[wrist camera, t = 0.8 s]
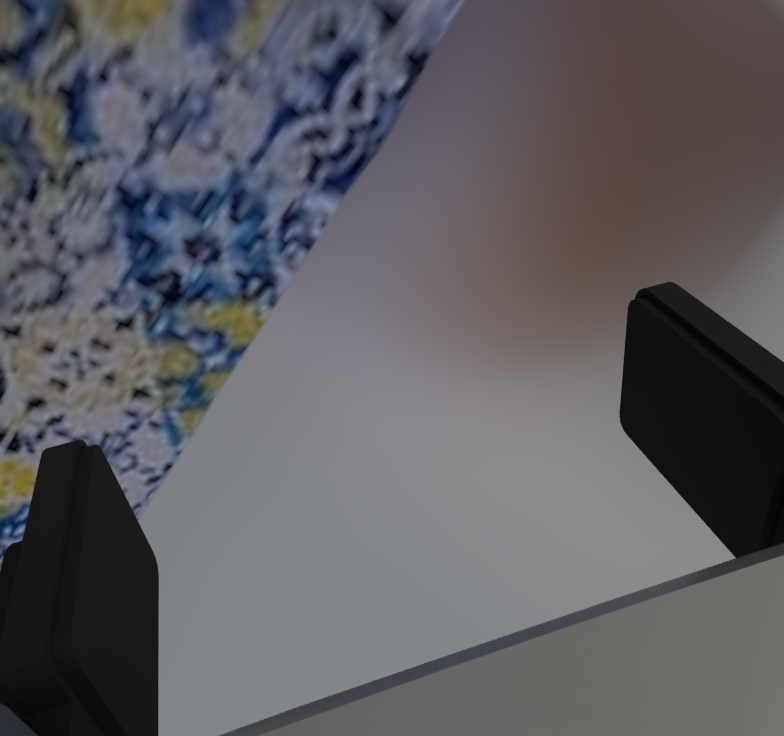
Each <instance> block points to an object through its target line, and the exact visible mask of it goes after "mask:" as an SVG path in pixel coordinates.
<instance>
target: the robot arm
mask: <svg viewBox="0 0 784 736" xmlns="http://www.w3.org/2000/svg"><path fill="white" fill-rule="evenodd" d="M622 379H623V380H622V391H621V404H620V422H621V425H622V427H623V429H624V431H625V432H626V434H627V435H628V437H629V438H630V439H631V440H632V441H633V442H634V443H635V444H636V446H637V447H638V448H639V449H640V450H641V451H642V452H643V453H644V454H645V456H646V457H647V458H648V459H649V460H650V461H651V462H652V464H653V465H654V466H655V467H656V468H657V469H658V470H659V472H660V473H661V474H662V475H663V476H664V477H665V478H666V479H667V480H668V482H669V483H670V484H671V485H672V486H673V487H674V488H675V490H676V491H677V492H678V493H679V494H680V495H681V496H682V497H683V499H684V500H685V501H686V502H687V503H688V504H689V505H690V506H691V508H692V509H694V511H695V512H696V513H697V514H698V515H699V517H700V518H701V519H702V520H703V521H704V522H705V523H706V525H707V526H708V527H709V528H710V529H711V530H712V531H713V532H714V534H715V535H716V536H717V537H718V538H719V539H720V540H721V541H722V543H723V544H724V545H725V546H726V547H727V548H728V549H729V550H730V552H731V553H732V554H733V555H734V556H735V557H736V559H733V560H730V561H727V562H724V563H721V564H718V565H715V566H712V567H709V568H706V569H703V570H700V571H697V572H694V573H691V574H688V575H685V576H682V577H679V578H676V579H673V580H670V581H667V582H664V583H661V584H658V585H655V586H652V587H649V588H646V589H643V590H640V591H637V592H634V593H631V594H628V595H625V596H622V597H619V598H616V599H613V600H610V601H607V602H604V603H601V604H598V605H595V606H592V607H589V608H586V609H583V610H580V611H577V612H574V613H571V614H568V615H566V616H562V617H559V618H557V619H554V620H551V621H548V622H545V623H542V624H539V625H536V626H533V627H530V628H527V629H524V630H521V631H518V632H515V633H512V634H509V635H507V636H503V637H500V638H498V639H495V640H492V641H489V642H486V643H483V644H480V645H477V646H474V647H471V648H468V649H465V650H462V651H459V652H456V653H453V654H451V655H448V656H445V657H442V658H439V659H436V660H433V661H430V662H427V663H424V664H422V665H418V666H416V667H413V668H410V669H407V670H404V671H401V672H398V673H395V674H392V675H389V676H387V677H384V678H381V679H378V680H375V681H372V682H369V683H366V684H363V685H361V686H358V687H355V688H352V689H349V690H346V691H343V692H340V693H337V694H334V695H332V696H328V697H326V698H323V699H320V700H317V701H314V702H311V703H308V704H305V705H302V706H299V707H297V708H294V709H291V710H288V711H285V712H283V713H280V714H277V715H274V716H272V717H269V718H266V719H264V720H261V721H258V722H255V723H252V724H249V725H247V726H244V727H241V728H238V729H236V730H233V731H230V732H228V733H225V734H222V735H219V736H784V362H783V361H781V360H780V359H778V358H777V357H776V356H774V355H773V354H772V353H770V352H769V351H768V350H766V349H765V348H763V347H762V346H761V345H759V344H758V343H757V342H755V341H754V340H752V339H751V338H750V337H748V336H747V335H746V334H744V333H743V332H741V331H740V330H739V329H737V328H736V327H735V326H733V325H732V324H731V323H729V322H727V321H726V320H725V319H723V318H722V317H721V316H720V315H718V314H717V313H715V312H714V311H712V310H711V309H710V308H708V307H707V306H706V305H704V304H703V303H702V302H700V301H699V300H698V299H696V298H695V297H693V296H692V295H691V294H689V293H688V292H686V291H685V290H684V289H682V288H681V287H680V286H678V285H677V284H675V283H673V282H667V283H663V284H659V285H655V286H652V287H648V288H644V289H641V290H640V291H638V292H637V294H636V297H635V299H634V300H632V301H631V302H630V303H629V306H628V315H627V328H626V340H625V353H624V365H623V378H622ZM158 579H159V576H158V566H157V562H156V558H155V555H154V553H153V551H152V549H151V547H150V545H149V543H148V541H147V539H146V537H145V535H144V533H143V531H142V529H141V527H140V525H139V523H138V521H137V519H136V517H135V515H134V513H133V511H132V509H131V507H130V505H129V503H128V501H127V499H126V497H125V495H124V493H123V491H122V489H121V487H120V485H119V483H118V481H117V479H116V477H115V475H114V473H113V471H112V469H111V467H110V465H109V463H108V461H107V459H106V457H105V455H104V453H103V451H102V450H101V448H100V447H99V446H98V445H93V446H89V447H88V446H87V444H86V443H85V442H84V441H83V440H77V441H73V442H69V443H65V444H62V445H58V446H54V447H51V448H47V449H45V450H43V452H42V455H41V459H40V464H39V468H38V473H37V477H36V482H35V487H34V491H33V496H32V500H31V505H30V509H29V514H28V519H27V523H26V528H25V532H24V537H23V541H20V542H17V543H13V544H11V545H10V546H9V547H8V548H7V550H6V553H5V555H4V558H3V562H2V566H1V570H0V736H158V600H159V599H158V598H159V593H158V591H159V585H158V584H159V581H158Z"/></svg>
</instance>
